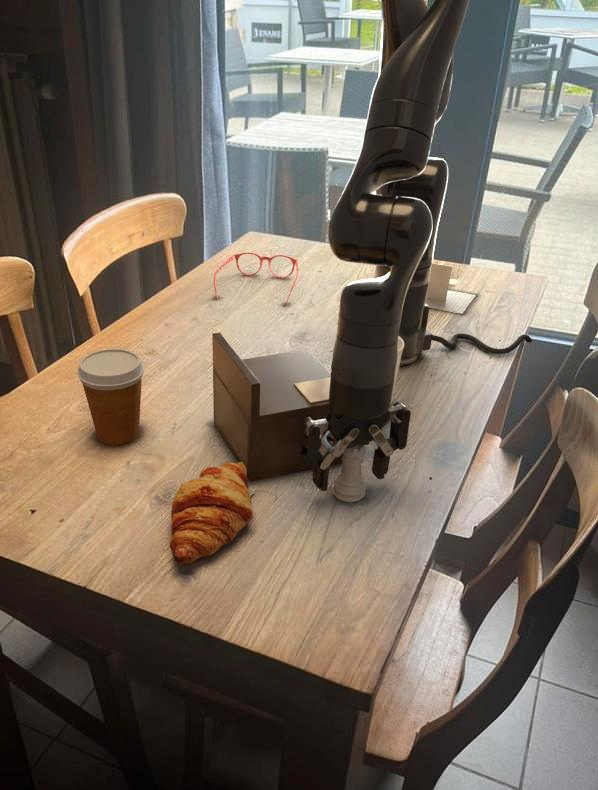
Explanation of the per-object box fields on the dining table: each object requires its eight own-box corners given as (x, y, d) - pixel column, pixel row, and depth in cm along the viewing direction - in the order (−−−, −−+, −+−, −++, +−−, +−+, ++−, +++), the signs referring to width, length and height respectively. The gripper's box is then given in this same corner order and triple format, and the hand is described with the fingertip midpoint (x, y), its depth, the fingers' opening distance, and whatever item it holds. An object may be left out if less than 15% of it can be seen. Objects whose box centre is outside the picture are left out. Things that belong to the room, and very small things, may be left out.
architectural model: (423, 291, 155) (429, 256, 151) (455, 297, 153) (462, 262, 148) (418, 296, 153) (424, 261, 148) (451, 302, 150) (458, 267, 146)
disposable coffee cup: (79, 425, 111) (68, 353, 104) (139, 412, 114) (132, 342, 107) (95, 457, 104) (85, 383, 97) (158, 442, 107) (152, 370, 100)
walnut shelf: (303, 407, 115) (308, 319, 107) (348, 461, 103) (359, 366, 94) (213, 423, 111) (212, 333, 102) (249, 481, 99) (251, 384, 90)
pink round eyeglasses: (303, 278, 161) (305, 256, 158) (291, 306, 149) (293, 282, 146) (228, 272, 164) (228, 250, 161) (210, 298, 152) (209, 275, 149)
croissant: (220, 492, 103) (194, 445, 100) (282, 476, 98) (257, 426, 95) (161, 589, 86) (128, 537, 83) (232, 576, 81) (199, 520, 78)
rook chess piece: (364, 506, 95) (371, 455, 90) (330, 501, 96) (335, 451, 91) (366, 486, 98) (372, 436, 94) (333, 482, 99) (338, 432, 94)
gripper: (321, 395, 81) (312, 509, 91) (432, 375, 85) (411, 487, 95) (295, 366, 87) (289, 476, 97) (399, 349, 91) (383, 457, 100)
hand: (349, 481), depth 96 cm, fingers open, 8 cm apart
